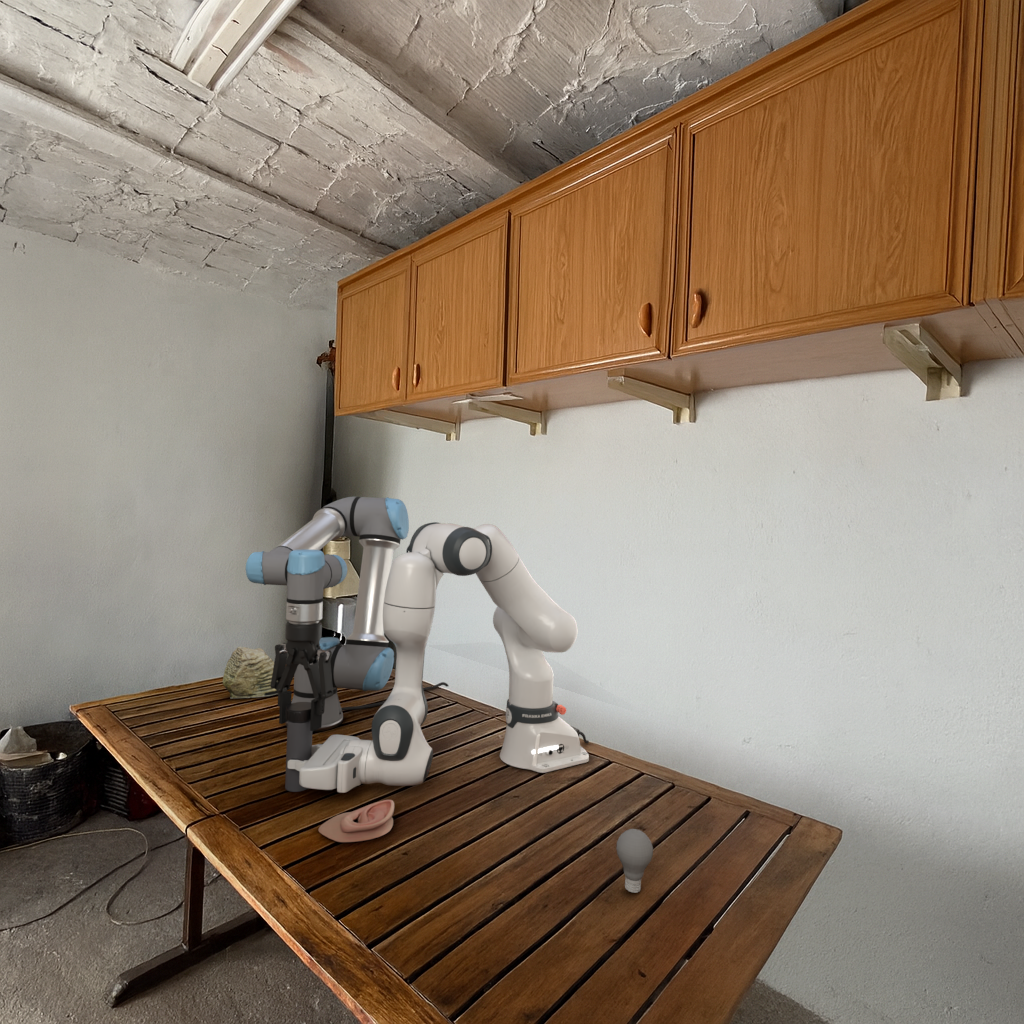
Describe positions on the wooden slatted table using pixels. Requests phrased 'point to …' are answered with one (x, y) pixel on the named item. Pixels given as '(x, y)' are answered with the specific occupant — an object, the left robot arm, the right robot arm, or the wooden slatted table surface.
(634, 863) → the light bulb
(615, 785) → the wooden slatted table surface
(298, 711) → the lid
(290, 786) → the jar
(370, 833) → the anatomical model
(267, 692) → the fossil
